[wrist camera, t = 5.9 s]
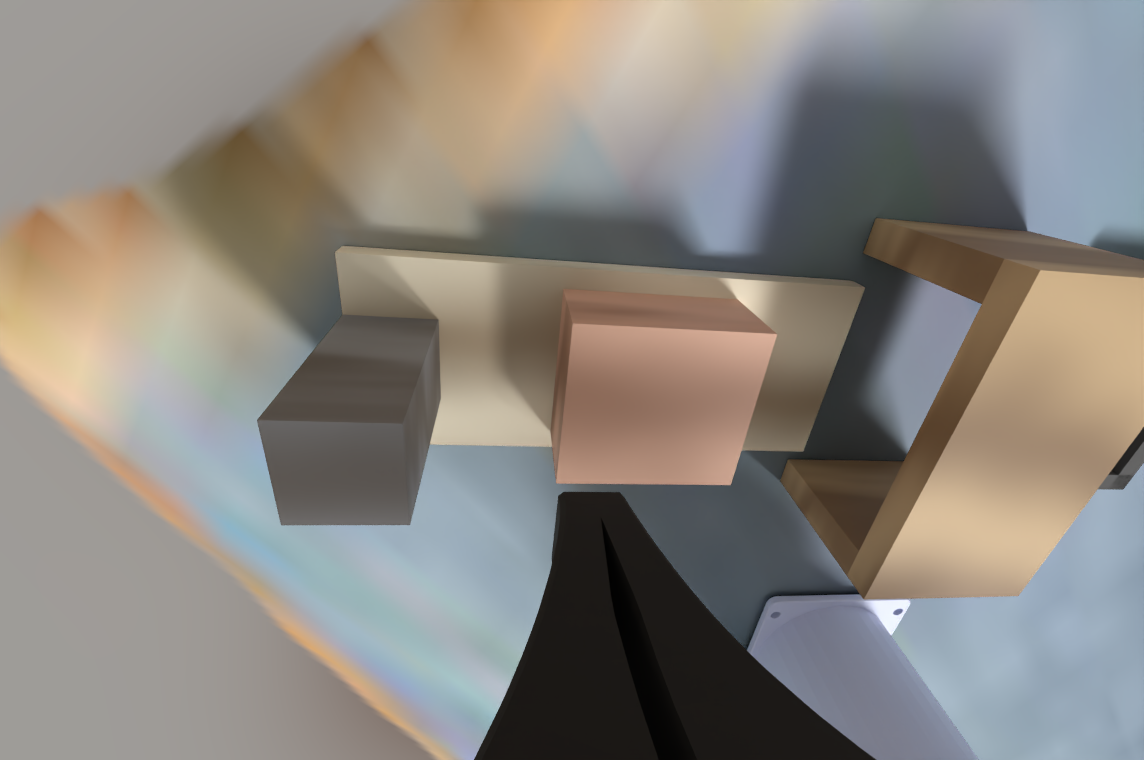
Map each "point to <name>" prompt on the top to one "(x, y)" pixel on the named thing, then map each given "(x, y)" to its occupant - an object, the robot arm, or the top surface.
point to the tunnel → (992, 418)
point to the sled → (546, 375)
